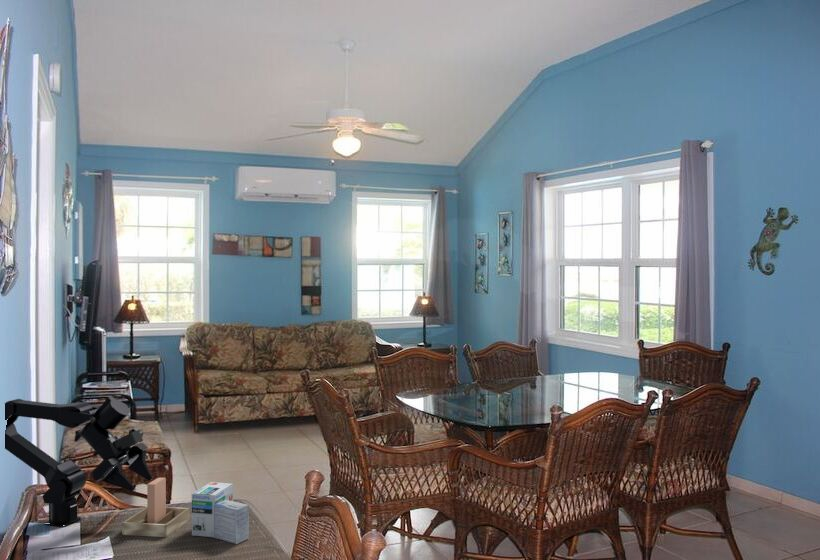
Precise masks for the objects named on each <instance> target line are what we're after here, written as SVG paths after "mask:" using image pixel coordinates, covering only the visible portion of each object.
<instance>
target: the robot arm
mask: <svg viewBox="0 0 820 560" xmlns="http://www.w3.org/2000/svg"><path fill="white" fill-rule="evenodd" d="M4 404H5V420H7V419H8V420H7V425H6V430H5V448H4V450H5V451H7V452H9V453H10V454H12V455H13V456H14V457H16V458H17V459H19V460H20V461H21V462H23V463H24V464H25V465H26V466H28V467H29V468H31V469H32V470H34V471H35V472H37V474H39V475H41V476H42V477H43V478H44V480H45V483H46V486H47V487H48V489H47V490H46V491H45V492H44V493H43V494H42V499H43V502H44V504H48V520H45V521H44V523H50V524H53V525H52V526H54V525H59V526H58V527H60V526H63V525H66V526H68V525H70V524H73V523H75V522H77V521H80V520H81V519H82V517H81V516H78V504H77V497H76V496H78V495H80V494H81V492H82V489H83V488H84V487H85V485H86V482H87V477H86V475H87V474H86V473H85V472H84V470H82V469H83V467H82V466H78V465H77V464H76V463H75V462H74V461H72V460H70V459H69V460H66V461H64V462H59V461H57V460H56V459H55V458H53V457H52V456H50V455H49V454H48V453H46V452H45V451H43V450H42V449H40V448H39V447H38V446H36V445H35V444H34V443H32V442H31V441H29V440H28V439H27V438H26V437H24V436H23V435H21V434H20V433H19V432H18V431H17V427H16V425H15V424H14V423H15V422H17V420H18V419H19V417H22V418H23V417H24V418H31V419H37V420H38V419H39V420H48V421H52V422H55V423H56V424H58V425H60V426H63V427H65V428H70V429H75V428H77V427H80V426H83V425H84V426H83V427H82V428H80V429H77V430H75V431H74V433H75V436H74V439H73V440H74V442H79V441H82V440H84V441H85V442H86V443H87V444H88V445H89V447H91V449H92V450H94V452H93V453H92V455H93V456H94V457H95V458H96V457H98V456H99V457H100V458H101V460H102V461H100V462H99V464H97V466H96V467H95V468H94V469H93V470H92V471H91V478H92V479H93V480H94V481H95V482H96V483H97V482H99V481H100V482H101V483H106V484H108V485H113V486H116V487H119V488H121V489H123V490H127V491H129V492H133V491H135V485H134V484H133V483H132V482H131V480H130V479H129V477H127V475H126V474H125V472H124V471H123V464H124V465H125V466H127V469H129V470H130V471H131V472H133V473H135V474H137V475H138V476H140V477H141V478H143V479H145V480H147V481H149V482H151V480H152V479H153V476H152V473H151V471H150V469H149V466H148V464H147V460H146V457H147V454H148V451H147V450H148V449H149V447H148V446H147V445H146V444H145V443H144V442H143V441H144V439H143V436H144V432H143V431H142V430H141V429H139V428H138V427H134V428H132V429H129V430H128V434H126V435H124V436H122V437H121V435H119V434H115V435H114V434H113V433H112V432H110V430H115V429H116V428H117V427H118V426H119V425H120V424H121V423H122V422H123V421H124V420H125V419H126V418H127V416H129V414H130V413H131V412H130V411H131V410H130V408H129V406H128V405H127V404H126V403H124V402H122V401H121V400H119V399H116V398H115V397H114V396H109V397H107V398H106V399H105V400H104V402H103V403H102V404H101V405H100V406H99V407H97V406H92V405H91V403H89V402H86V401H84V402H81V401H80V402H71V403H64V404H63V403H62V404H61V403H59V404H58V403H50V402H43V401H41V402H40V401H32V400H25V399H22V398H15V399H11V400H8V401H6V402H5V403H4ZM92 420H93V421H92ZM91 421H92V422H91ZM44 523H43V524H44ZM67 524H68V525H67ZM63 527H64V526H63Z"/></svg>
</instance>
